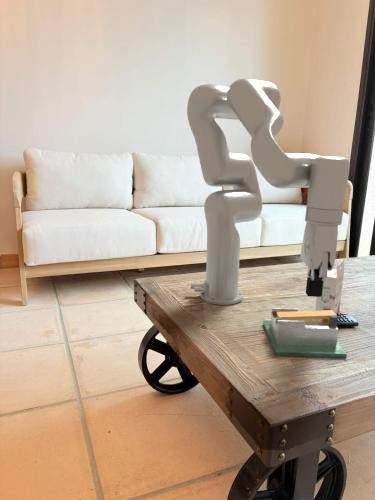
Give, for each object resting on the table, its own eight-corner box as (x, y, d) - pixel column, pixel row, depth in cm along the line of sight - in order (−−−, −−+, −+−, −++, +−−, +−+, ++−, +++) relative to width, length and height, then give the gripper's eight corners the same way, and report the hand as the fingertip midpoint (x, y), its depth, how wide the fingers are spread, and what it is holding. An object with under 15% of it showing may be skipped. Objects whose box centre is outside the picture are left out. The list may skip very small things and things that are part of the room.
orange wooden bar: (279, 320, 89) (279, 317, 88) (276, 315, 92) (276, 312, 91) (336, 318, 88) (336, 315, 88) (332, 313, 91) (332, 310, 91)
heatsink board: (275, 356, 84) (277, 325, 82) (263, 324, 99) (264, 298, 97) (346, 358, 83) (350, 327, 82) (323, 325, 99) (325, 299, 97)
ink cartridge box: (321, 306, 111) (326, 256, 108) (339, 310, 109) (345, 259, 105) (313, 316, 104) (318, 263, 101) (333, 321, 102) (339, 266, 98)
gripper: (297, 208, 91) (289, 283, 96) (316, 221, 77) (305, 308, 82) (330, 210, 91) (320, 284, 96) (354, 223, 77) (341, 309, 82)
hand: (313, 295), depth 89 cm, fingers closed
